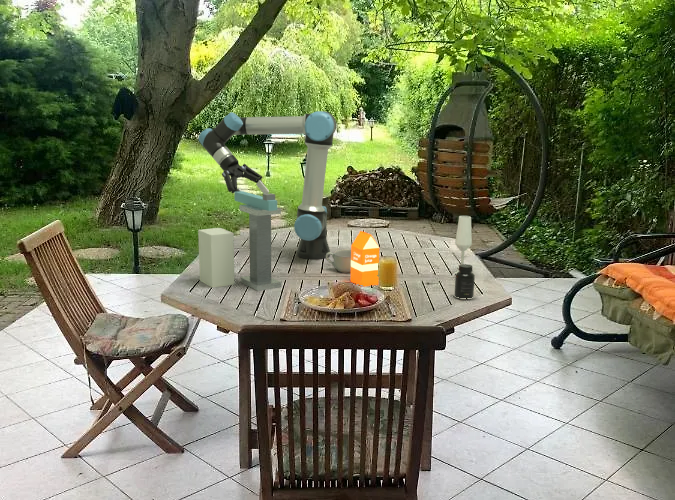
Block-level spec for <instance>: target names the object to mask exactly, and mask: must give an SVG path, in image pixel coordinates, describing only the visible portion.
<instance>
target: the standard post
mask: <svg viewBox="0 0 675 500" xmlns="http://www.w3.org/2000/svg"><path fill="white" fill-rule="evenodd" d="M238 208H239V211H241V212H244V213H247V214H248V218H249V219H248V221H249V222H248V224H249V225H248V227H249V228H248V229H249V233H248V235H249V236H248V237H249V275H246V276H245V275H244V276H241V277H240V283H242V284H244V286H247V287H249V288H251V289H252V290H255V291H257V292H259V291H266V290H273V289H278V288H282V281H280V280H278V279H276V278H273V277H272V216H273V215H282V208H280V207H278V206H277V210H274V211H267V210H264V209H261V208H257V207H254V206H251V205H247V204H239V206H238Z"/></svg>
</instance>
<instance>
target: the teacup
mask: <svg viewBox="0 0 675 500" xmlns="http://www.w3.org/2000/svg"><path fill="white" fill-rule="evenodd" d="M328 255H330V256H331V257H332V259H333V260H331V259H330V258H329V257H328ZM325 260H326V261H327V262H328V263H329V264H331V265H332V266H333V267H334V268H335V269H336V270H337V271H338V272H340V273H345V274H349V273H350V274H351V249H347V248H346V249H337V250H335V251H334V252H331V251H330V252H328V253H327V254H326V258H325Z"/></svg>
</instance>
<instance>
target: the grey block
mask: <svg viewBox="0 0 675 500" xmlns="http://www.w3.org/2000/svg"><path fill="white" fill-rule="evenodd" d="M197 233H198V235H197V236H198V265H199V267H198V268H199V269H198V270H199V271H198V272H199V281H200V282H201V283H204V284H205V285H207V286H208V287H210V288H212V289H213V288H221V287H227V286H234V285H235V249H234V248H235V243H234V241H235V240H234V239H235V238H234V236H235V235H234V232H232V231H230V230H227V229H224V228H222V227H213V228H205V229H198V230H197Z"/></svg>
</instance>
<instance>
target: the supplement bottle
mask: <svg viewBox="0 0 675 500" xmlns="http://www.w3.org/2000/svg"><path fill="white" fill-rule="evenodd" d="M458 270H459V272H457V273H456V275H454V276H455V277H454V279H455V280H454V295H455V296H456V297H459V298H472V297H473V298H474V294H475V293H474V292H475V278H476V277H475V274H474V273H473V265H471V264H468V263H467V264H466V263H464V264H461V263H460V264H459V265H458ZM454 295H453V296H454ZM455 296H454V297H455ZM473 298H472V299H473Z"/></svg>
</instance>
